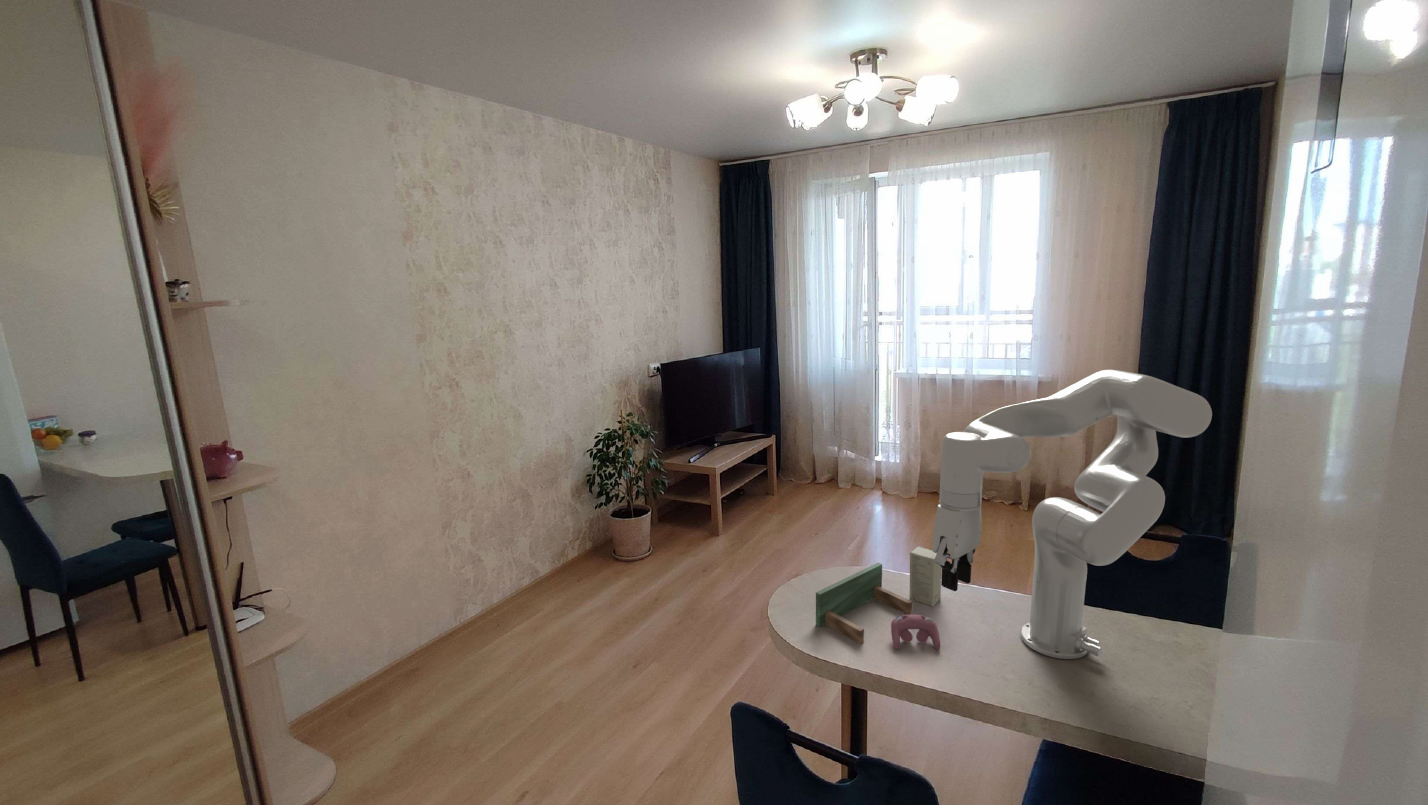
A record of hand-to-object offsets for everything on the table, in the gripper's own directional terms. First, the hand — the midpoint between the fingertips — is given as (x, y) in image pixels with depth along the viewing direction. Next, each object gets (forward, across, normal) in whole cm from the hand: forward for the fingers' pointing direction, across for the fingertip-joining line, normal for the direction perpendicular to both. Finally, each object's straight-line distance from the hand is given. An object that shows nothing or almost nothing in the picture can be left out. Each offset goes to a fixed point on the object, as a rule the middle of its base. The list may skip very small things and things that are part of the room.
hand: (955, 583), depth 124 cm
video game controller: (+18, 0, -9) cm, 20 cm away
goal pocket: (+17, 0, -21) cm, 27 cm away
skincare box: (+17, -17, -18) cm, 30 cm away
